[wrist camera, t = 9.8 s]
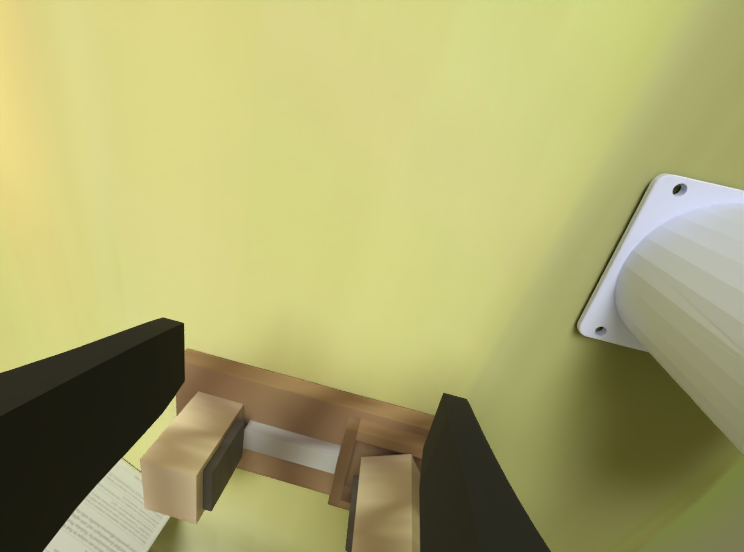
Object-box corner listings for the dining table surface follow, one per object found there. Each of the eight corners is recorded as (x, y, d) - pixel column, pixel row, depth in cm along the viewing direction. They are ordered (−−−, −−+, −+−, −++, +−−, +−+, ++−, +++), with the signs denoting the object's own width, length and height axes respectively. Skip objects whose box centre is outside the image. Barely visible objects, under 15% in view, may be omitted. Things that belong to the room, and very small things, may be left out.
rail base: (465, 424, 22) (476, 528, 17) (430, 506, 26) (429, 616, 20) (186, 348, 23) (108, 422, 18) (188, 437, 27) (122, 522, 21)
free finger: (411, 454, 21) (412, 562, 17) (425, 484, 23) (429, 586, 19) (353, 457, 22) (340, 562, 18) (372, 486, 24) (365, 584, 20)
